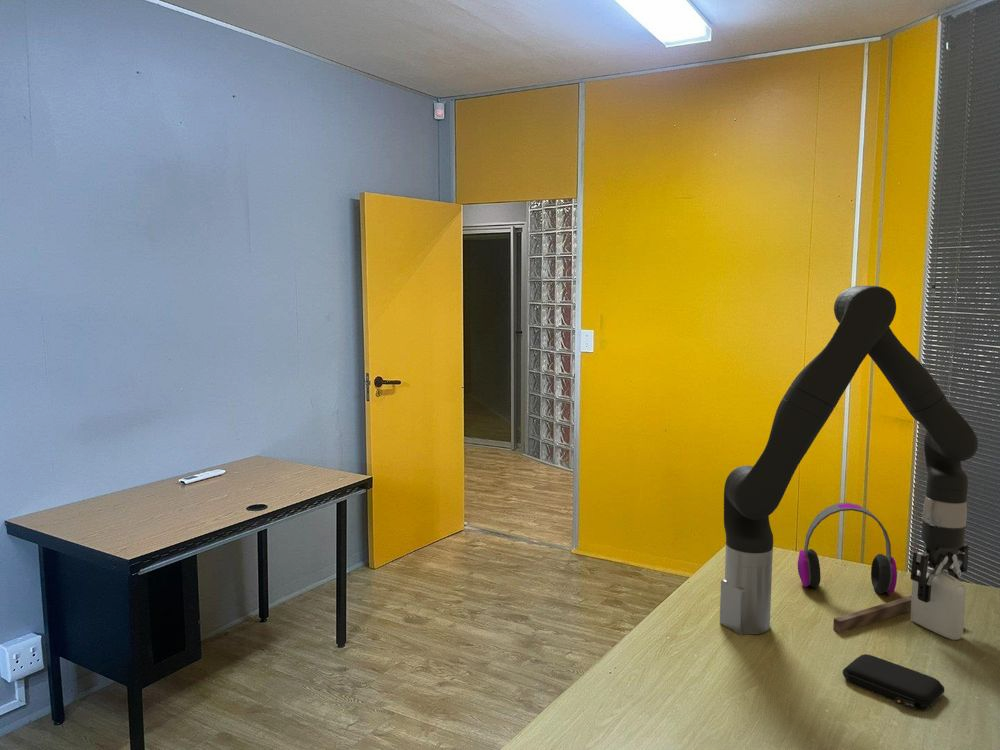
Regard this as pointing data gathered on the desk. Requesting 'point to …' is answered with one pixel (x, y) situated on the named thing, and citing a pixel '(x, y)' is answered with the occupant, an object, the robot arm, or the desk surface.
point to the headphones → (881, 565)
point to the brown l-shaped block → (872, 614)
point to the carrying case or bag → (894, 681)
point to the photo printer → (941, 606)
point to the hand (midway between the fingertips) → (937, 596)
